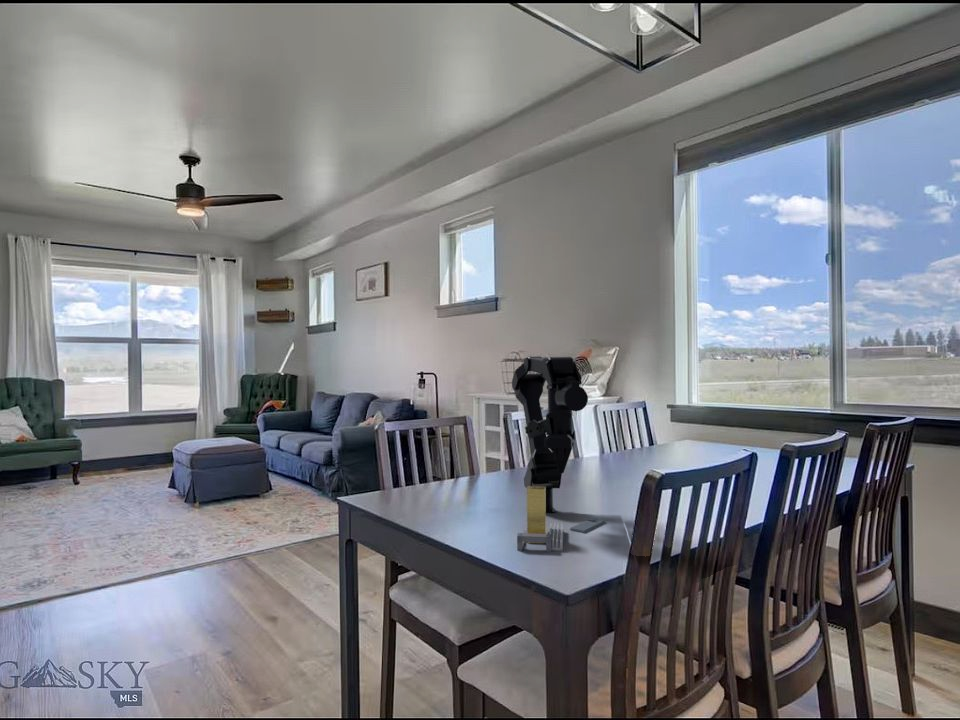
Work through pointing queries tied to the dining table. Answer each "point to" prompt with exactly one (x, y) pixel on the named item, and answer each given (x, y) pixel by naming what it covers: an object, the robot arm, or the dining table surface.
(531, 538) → the socket board
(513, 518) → the dining table surface
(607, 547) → the dining table surface
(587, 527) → the dark grey flat block
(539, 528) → the yellow rectangular block
